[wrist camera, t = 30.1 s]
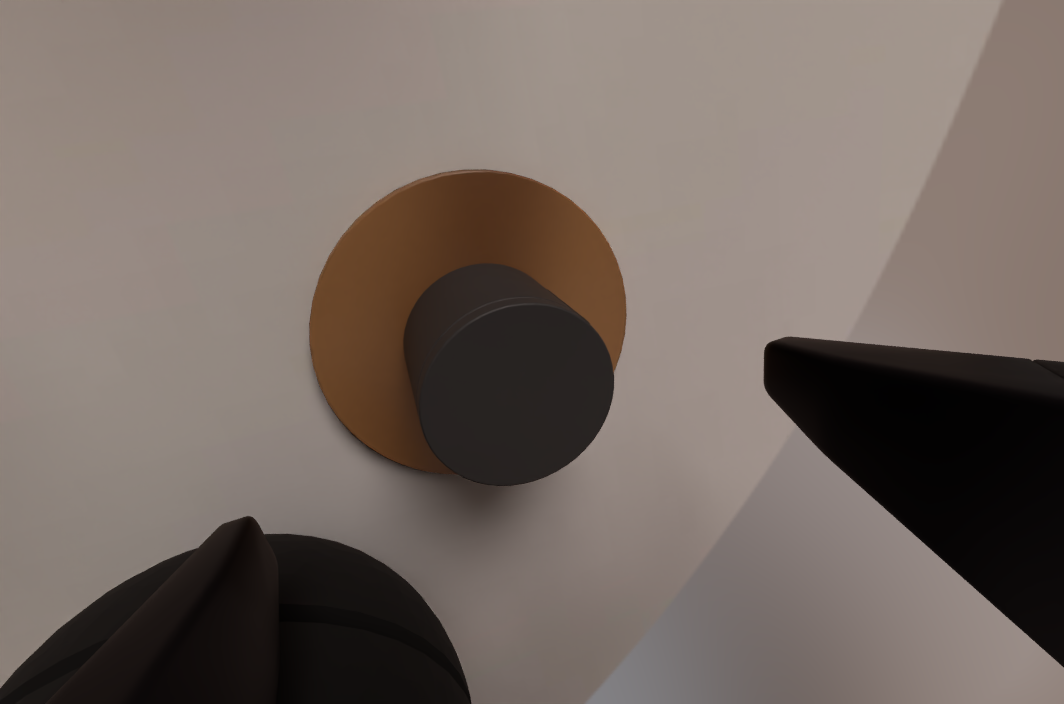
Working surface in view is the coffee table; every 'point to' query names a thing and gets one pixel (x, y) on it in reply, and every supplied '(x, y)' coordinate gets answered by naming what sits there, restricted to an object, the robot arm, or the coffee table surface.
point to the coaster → (421, 259)
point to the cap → (504, 375)
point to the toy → (293, 632)
